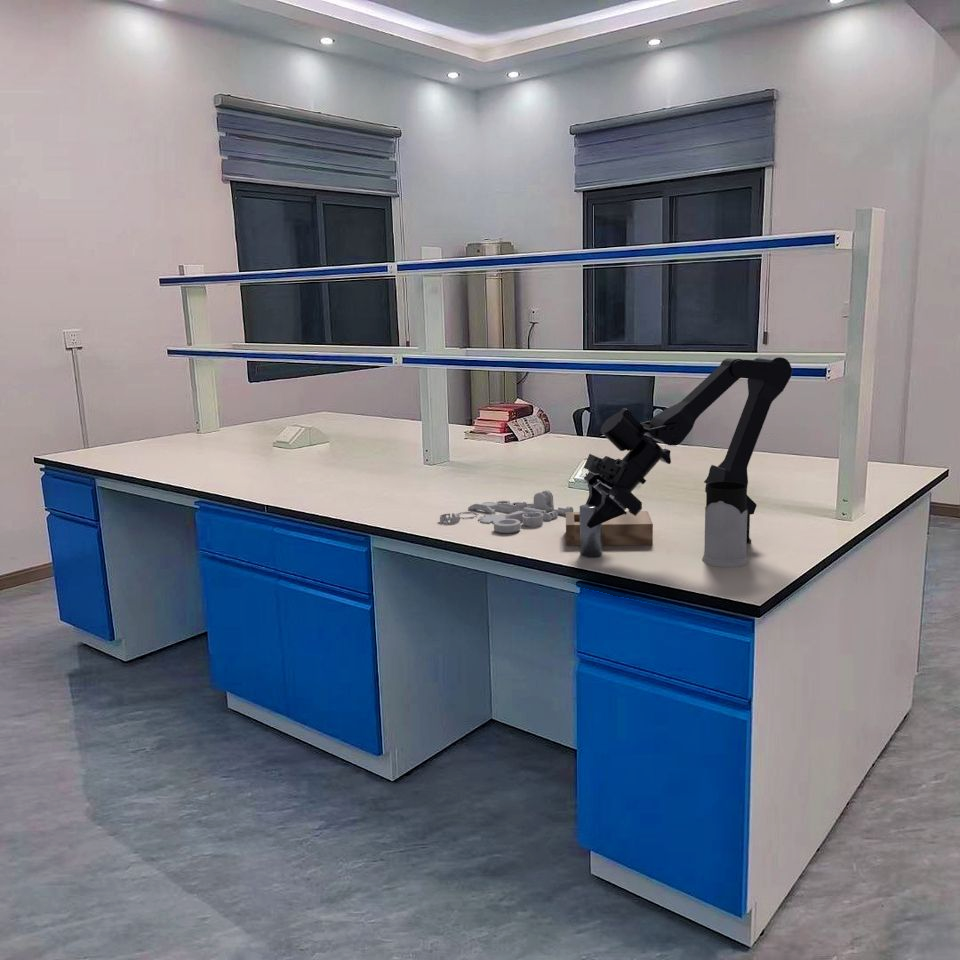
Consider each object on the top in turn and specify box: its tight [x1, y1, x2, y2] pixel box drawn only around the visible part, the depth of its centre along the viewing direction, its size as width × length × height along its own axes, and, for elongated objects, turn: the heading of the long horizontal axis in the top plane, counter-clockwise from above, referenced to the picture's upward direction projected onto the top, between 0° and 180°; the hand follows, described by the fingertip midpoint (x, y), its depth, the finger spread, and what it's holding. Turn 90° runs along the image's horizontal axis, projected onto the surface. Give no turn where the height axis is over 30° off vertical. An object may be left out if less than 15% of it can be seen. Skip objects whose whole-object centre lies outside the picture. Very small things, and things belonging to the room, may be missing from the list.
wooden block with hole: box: [565, 510, 654, 547], centre depth 187 cm, size 18×11×4 cm, turn 85°
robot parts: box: [439, 489, 574, 534], centre depth 207 cm, size 25×25×5 cm
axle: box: [579, 503, 603, 559], centre depth 175 cm, size 4×4×10 cm
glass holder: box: [701, 481, 749, 568], centre depth 169 cm, size 9×14×15 cm, turn 149°
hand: (584, 523), depth 174 cm, fingers closed on axle, 4 cm apart
